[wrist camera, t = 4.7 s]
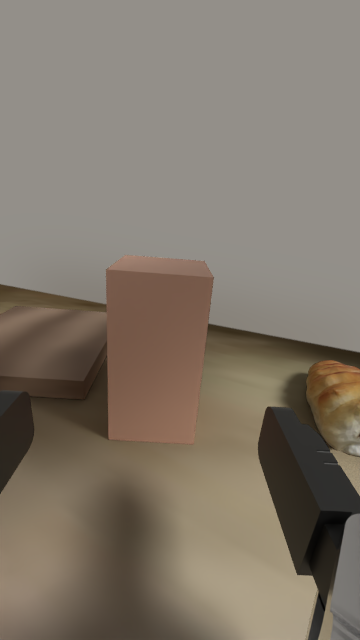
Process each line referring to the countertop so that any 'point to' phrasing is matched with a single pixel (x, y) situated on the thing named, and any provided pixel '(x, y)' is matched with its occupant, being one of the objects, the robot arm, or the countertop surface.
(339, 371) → the pastry
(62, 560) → the countertop surface
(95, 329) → the walnut board
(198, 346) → the tall block
